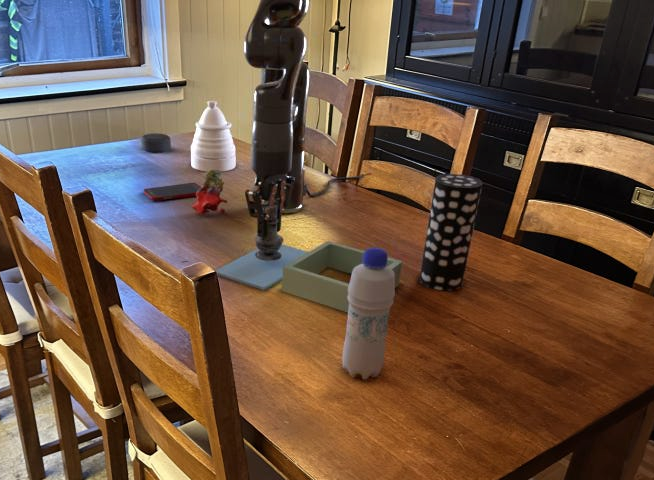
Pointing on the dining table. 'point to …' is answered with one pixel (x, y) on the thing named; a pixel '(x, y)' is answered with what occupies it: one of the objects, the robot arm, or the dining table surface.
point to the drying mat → (259, 268)
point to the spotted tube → (450, 231)
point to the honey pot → (213, 142)
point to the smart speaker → (156, 142)
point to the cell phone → (172, 191)
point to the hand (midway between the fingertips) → (269, 233)
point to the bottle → (368, 314)
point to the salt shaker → (270, 239)
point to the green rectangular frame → (321, 289)
